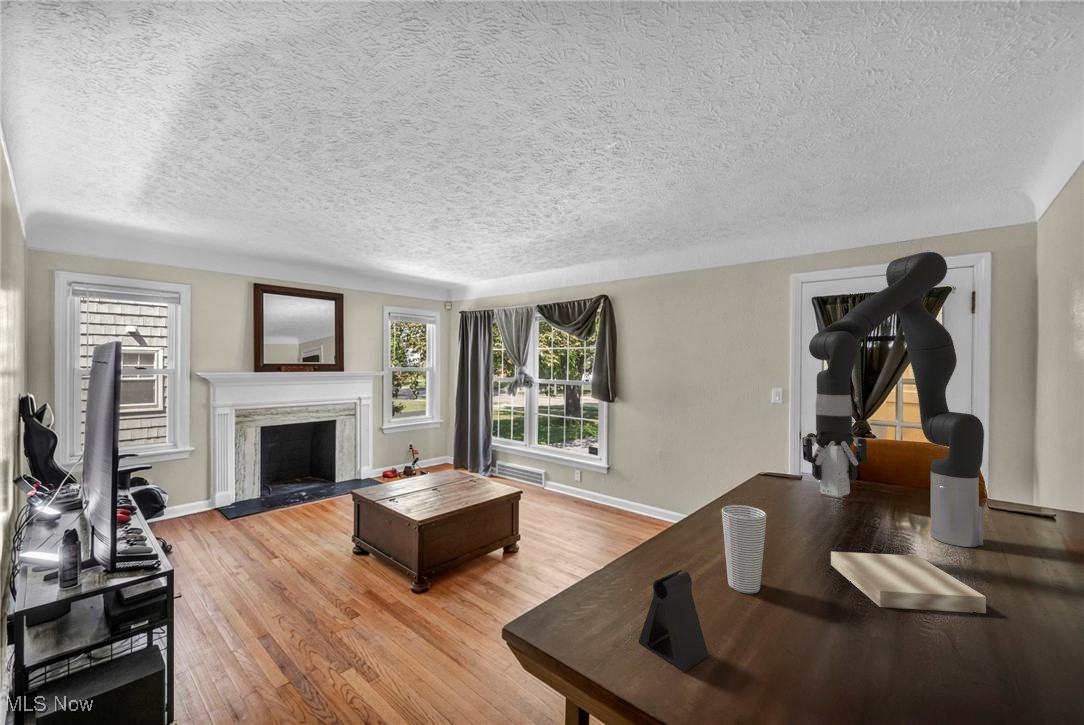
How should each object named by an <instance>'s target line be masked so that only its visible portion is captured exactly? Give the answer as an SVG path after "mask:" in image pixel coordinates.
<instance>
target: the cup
mask: <svg viewBox="0 0 1084 725" xmlns="http://www.w3.org/2000/svg"><path fill="white" fill-rule="evenodd" d="M721 519H722V528H723V529H722V530H723V541H724V542H723V543H724V552H725V553H724V554H725V564H726V574H727V583H728V586H729V587H730V588H731V589H732V590H734V591H737V592H738V593H739V592H740V593H743V594H756V593H758V592H760V589H761V583H762V582H761V581H762V569H763V561H764V558H763V557H764V548H765V538H766V537H765V536H766V527H767V526H766V525H767V512H766V511H765V510H763V509H760V508H758V507H753V506H749V505H742V504H730V505H725V506H723V507H722V508H721Z"/></svg>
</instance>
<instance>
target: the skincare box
mask: <svg viewBox="0 0 1084 725" xmlns="http://www.w3.org/2000/svg"><path fill="white" fill-rule="evenodd" d="M826 446H827V445H825V447H826ZM825 447H824V448H825ZM824 448H822V447H821V446H820V445H819V451H820V452H822V451H823V450H824ZM827 450H828V455H827V456H826V458H824V459H823V461H822V462H821V464H820V465H821V466H822V480H819V481H820V482H819V483H820V485H819V486H820V493H821V494H823V495H826V496H830V497H836V498H840V497H842V496H847V495H849V494H850V493H851V489H850V480H849V458H848V457H847V456H846V453H844V450H843V447H842V446H840V445H834V446H829V447H828V449H827Z"/></svg>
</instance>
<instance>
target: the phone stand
mask: <svg viewBox="0 0 1084 725" xmlns="http://www.w3.org/2000/svg"><path fill="white" fill-rule="evenodd" d="M681 572H682V573H681ZM692 586H693V581H692V577H691V575H690V573H689V572H688V571H684V572H683V569H682V568H681V569H678V570H676V571H673V572H671V573H670V574H667V575H664V576H663V577H660V578H657V579H656V580H654V581H653V583H652V589H653V594H652V595H653V596H652V600H651V603H650V606H649V609H648V613H647V615H646V618H645V621H644V624H643V626H642V630H641V633H640V635H639V638H638V643H639V645H641V646H642V647H644V648H645V649H646V650H648V651H650V652H651V653H653V655H656V656H657V657H658V658H661V659H662V660H663V661H665V662H667V663H668V664H670V665H671V666H673V667H674V668H676V669H677V670H678V671H681V673H685V672H688V671H689V670H690V669H692V668H693V667H695V666H697V665H698V664H699V663H701V662H703V661H704V660H706V659H707V658H708V657H709V653H708V649H707V645H706V642H705V641H706V640H705V638H704V633H703V631H702V630H703V629H702V627H701V622H700V618H699V615H698V612H697V608H696V607H697V606H696V604H695V602H694V601H695V600H694V597H693V592H692Z"/></svg>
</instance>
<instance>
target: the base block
mask: <svg viewBox="0 0 1084 725" xmlns="http://www.w3.org/2000/svg"><path fill="white" fill-rule="evenodd" d="M830 565H831V566H832V567H833V568H834V569H835V570H836V571H837V572H839V573H840V574H841V575H842V576H843V577H845V578H846V579H847V580H848V581H849V582H850V581H851V582H850V583H852V584H853V585H854V586H855V587H857V588H858V590H860V591H861V592H862V593H863V594H864V595H865V596H867V597H868V598H869V599H870V600H871V601H873V603H875V604H876V605H877V606H878V607H880V608H893V609H909V610H910V609H911V610H925V611H927V610H928V611H940V612H941V611H944V612H957V613H973V612H976V614H986V613H987V597H986V596H985V595H984V594H982V593H980V592H979V591H977V590H975V589H973V588H972V587H970V586H968V585H967V584H965V583H964V582H961V581H960V580H959V579H956V578H955V577H953V576H952V575H951V574H948V573H947V572H945V571H943V570H942V569H940V568H938V567H937V566H935V565H933V564H932V563H930V562H929V561H928V560H925V559H923V557H920V556H918V555H914V554H913V555H911V554H909V555H908V554H888V553H871V552H870V553H867V552H850V551H849V552H846V551H830Z"/></svg>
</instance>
